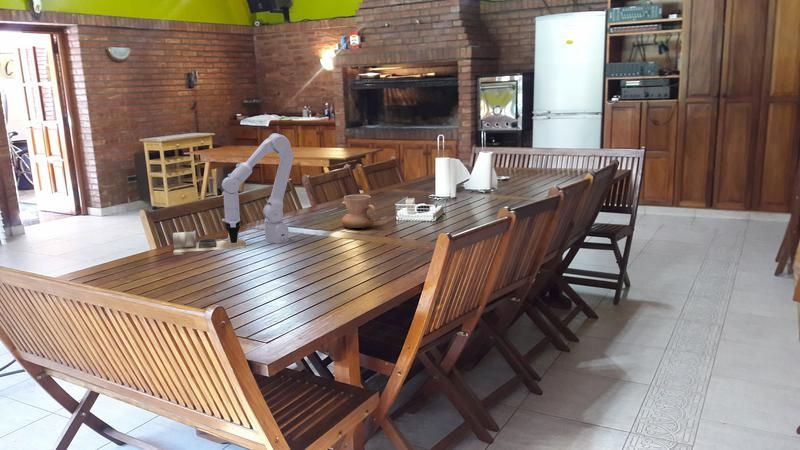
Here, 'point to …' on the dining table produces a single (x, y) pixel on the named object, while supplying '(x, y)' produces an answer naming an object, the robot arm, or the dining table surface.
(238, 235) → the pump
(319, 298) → the dining table surface
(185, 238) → the motor mount
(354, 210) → the ceramic jug
